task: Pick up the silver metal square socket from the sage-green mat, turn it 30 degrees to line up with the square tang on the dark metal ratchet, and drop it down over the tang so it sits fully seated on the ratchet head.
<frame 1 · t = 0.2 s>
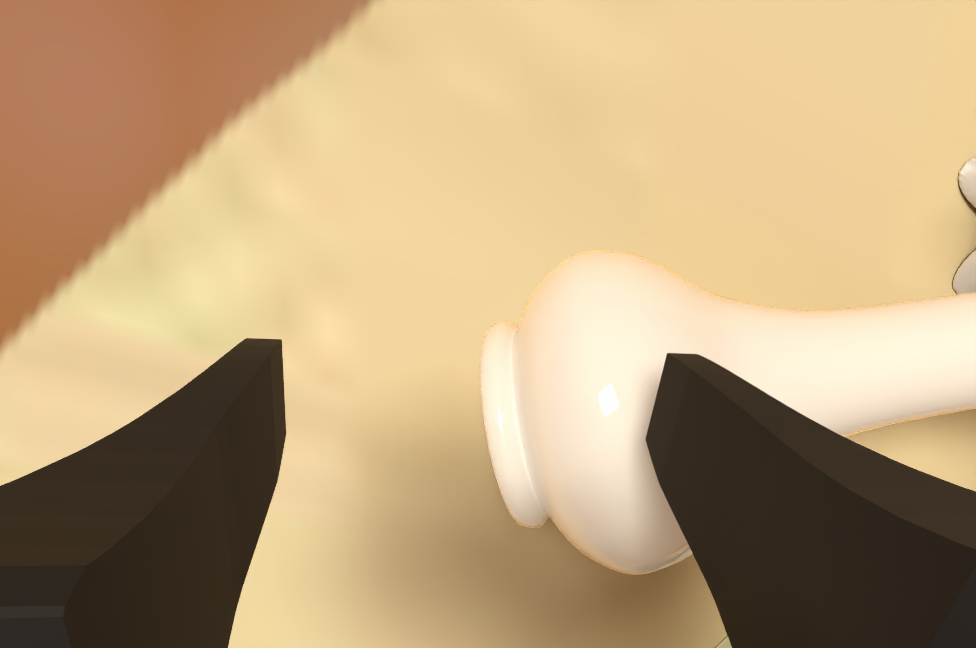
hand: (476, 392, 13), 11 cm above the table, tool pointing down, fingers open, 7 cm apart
flower vase: (819, 279, 24), on the table
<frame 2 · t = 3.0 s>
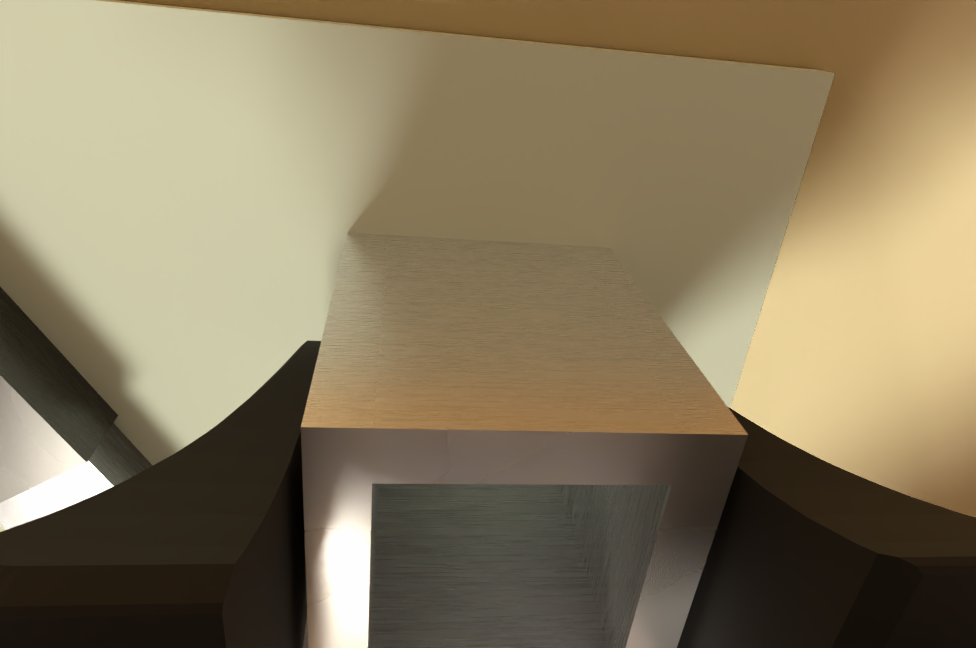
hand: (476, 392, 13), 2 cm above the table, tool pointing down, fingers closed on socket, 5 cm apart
mat: (233, 453, 15), on the table
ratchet: (243, 626, 17), resting on mat
socket: (470, 355, 14), resting on mat, touching gripper
when the fingers open (5 cm above the table, at t = 6.7 s): socket drops 1 cm, resting on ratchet.
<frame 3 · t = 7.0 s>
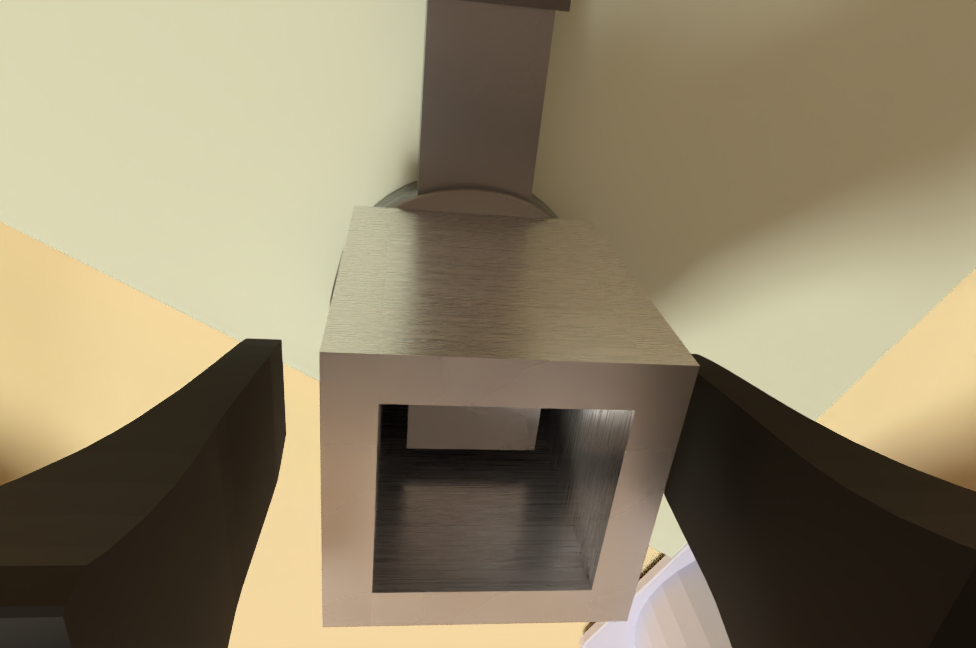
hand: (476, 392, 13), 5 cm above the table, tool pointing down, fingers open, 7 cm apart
mat: (583, 117, 15), on the table
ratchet: (460, 293, 16), resting on mat, touching socket
socket: (465, 320, 15), point 2 cm above the table, touching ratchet
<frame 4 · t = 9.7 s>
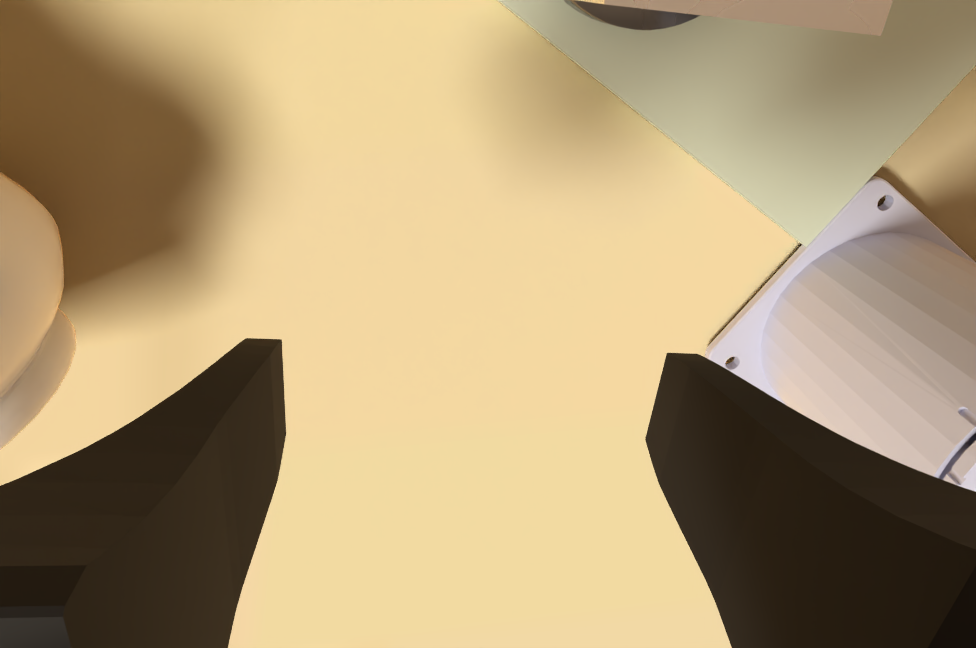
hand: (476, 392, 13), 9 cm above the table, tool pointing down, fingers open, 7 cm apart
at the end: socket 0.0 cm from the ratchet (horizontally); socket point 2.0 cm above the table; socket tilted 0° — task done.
